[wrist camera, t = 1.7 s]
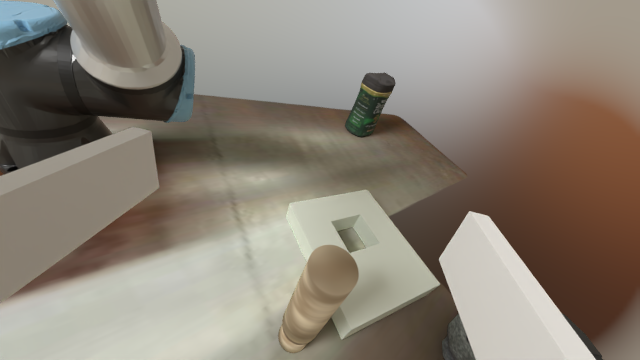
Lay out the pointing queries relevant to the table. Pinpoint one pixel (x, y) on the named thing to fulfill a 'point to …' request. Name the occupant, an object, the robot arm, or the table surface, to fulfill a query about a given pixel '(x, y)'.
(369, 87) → the coffee jar
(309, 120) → the table surface
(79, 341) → the table surface
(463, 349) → the mortar and pestle
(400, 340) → the table surface
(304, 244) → the board
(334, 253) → the beech leg
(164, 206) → the table surface
